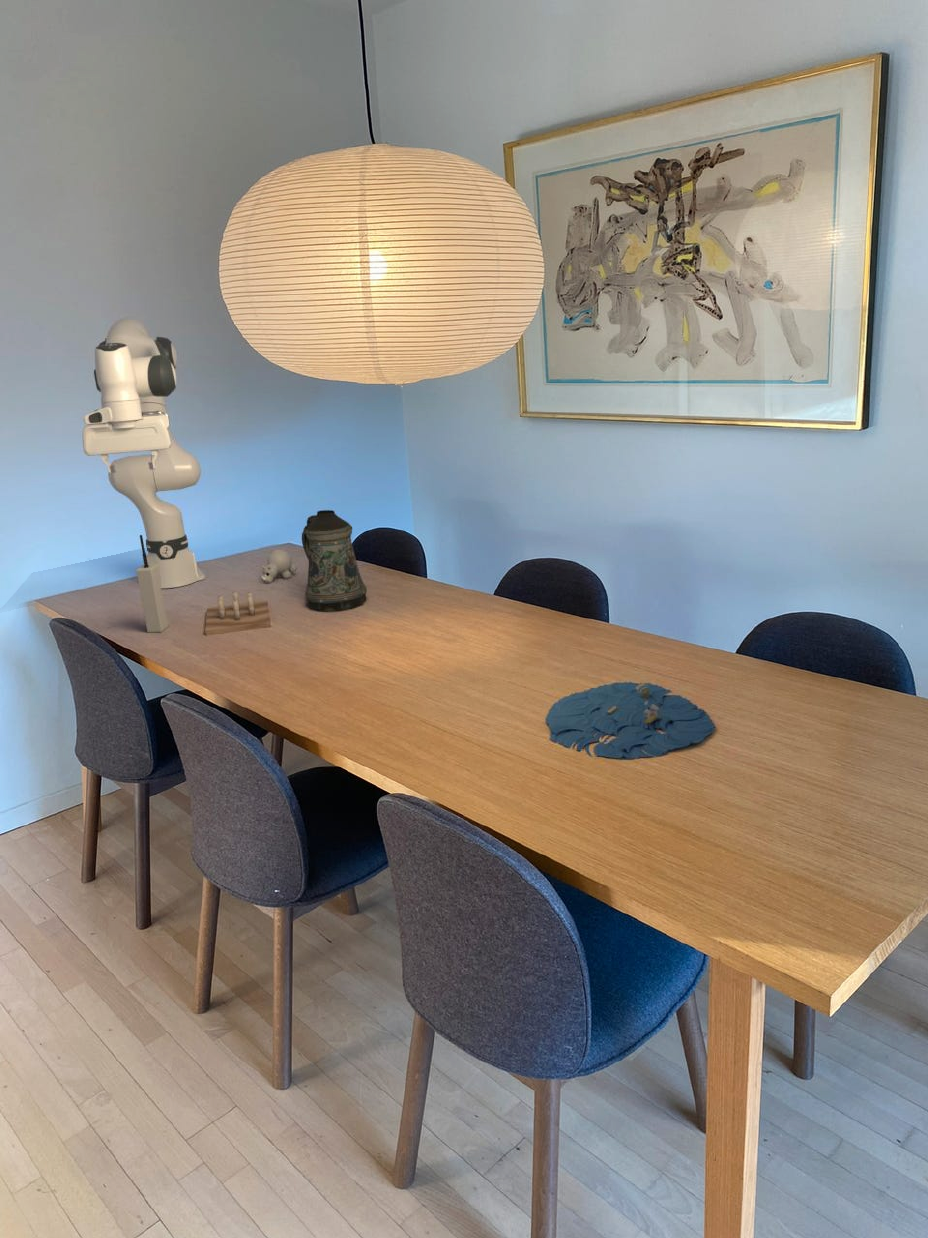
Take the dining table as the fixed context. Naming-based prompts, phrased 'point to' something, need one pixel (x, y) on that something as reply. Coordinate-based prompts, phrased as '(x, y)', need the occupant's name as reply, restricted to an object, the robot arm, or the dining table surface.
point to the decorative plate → (627, 720)
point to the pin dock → (237, 615)
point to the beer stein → (331, 564)
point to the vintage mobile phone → (151, 595)
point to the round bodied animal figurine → (278, 566)
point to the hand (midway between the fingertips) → (132, 471)
